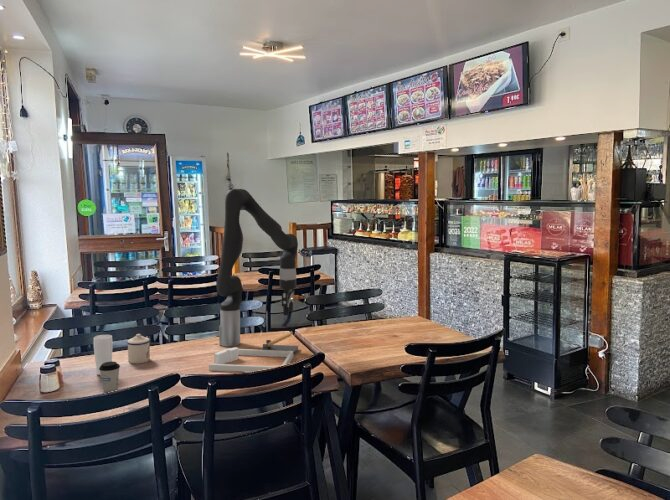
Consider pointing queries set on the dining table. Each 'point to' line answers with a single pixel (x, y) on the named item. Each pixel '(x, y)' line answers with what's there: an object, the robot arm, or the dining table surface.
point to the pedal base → (280, 347)
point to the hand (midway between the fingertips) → (288, 313)
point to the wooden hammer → (280, 338)
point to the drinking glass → (102, 350)
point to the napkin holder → (226, 356)
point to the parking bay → (250, 367)
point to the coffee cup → (109, 376)
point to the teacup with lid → (138, 349)
